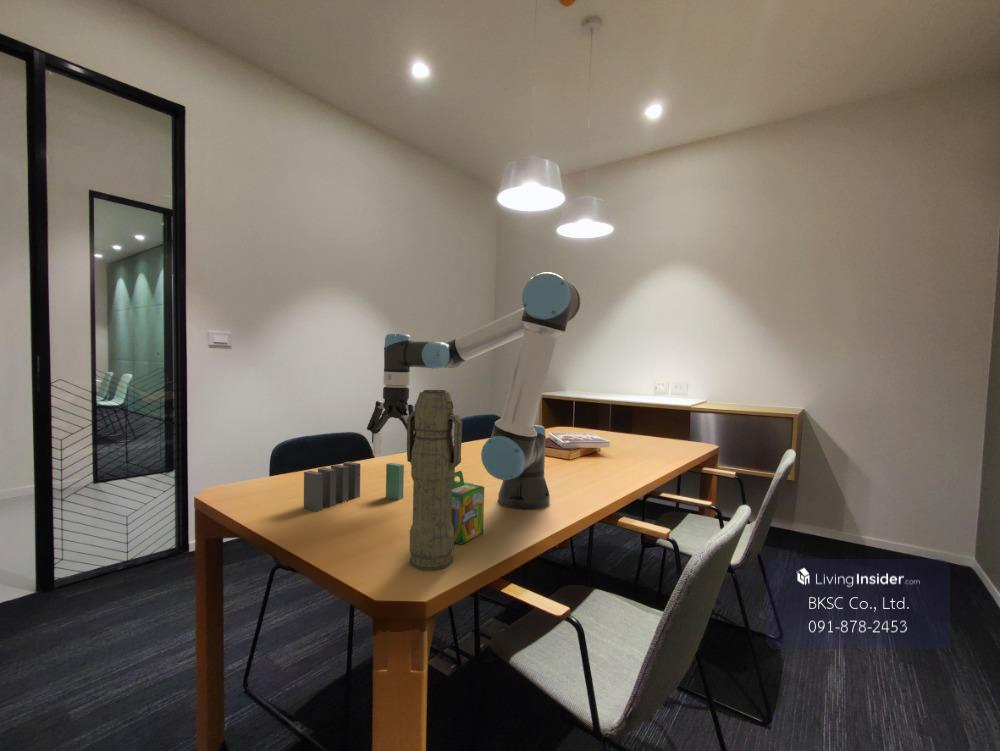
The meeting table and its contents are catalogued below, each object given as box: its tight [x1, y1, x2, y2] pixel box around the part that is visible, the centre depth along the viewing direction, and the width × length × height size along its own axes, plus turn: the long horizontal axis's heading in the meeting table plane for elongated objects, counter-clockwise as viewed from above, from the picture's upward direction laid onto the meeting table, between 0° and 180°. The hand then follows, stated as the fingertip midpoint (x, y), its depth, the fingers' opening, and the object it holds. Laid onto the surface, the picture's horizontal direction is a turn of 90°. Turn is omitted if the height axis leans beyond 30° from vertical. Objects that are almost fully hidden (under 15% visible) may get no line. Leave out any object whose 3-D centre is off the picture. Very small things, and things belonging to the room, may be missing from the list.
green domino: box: [385, 462, 405, 501], centre depth 133 cm, size 2×5×10 cm, turn 62°
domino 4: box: [342, 461, 361, 499], centre depth 133 cm, size 2×5×10 cm, turn 62°
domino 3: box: [330, 464, 349, 503], centre depth 129 cm, size 2×5×10 cm, turn 62°
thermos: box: [406, 389, 463, 572], centre depth 91 cm, size 9×12×35 cm
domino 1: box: [303, 470, 323, 513], centre depth 121 cm, size 2×5×10 cm, turn 61°
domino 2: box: [317, 467, 337, 508], centre depth 125 cm, size 2×5×10 cm, turn 62°
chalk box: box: [452, 470, 485, 545], centre depth 106 cm, size 9×9×15 cm
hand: (394, 457), depth 133 cm, fingers open, 13 cm apart
